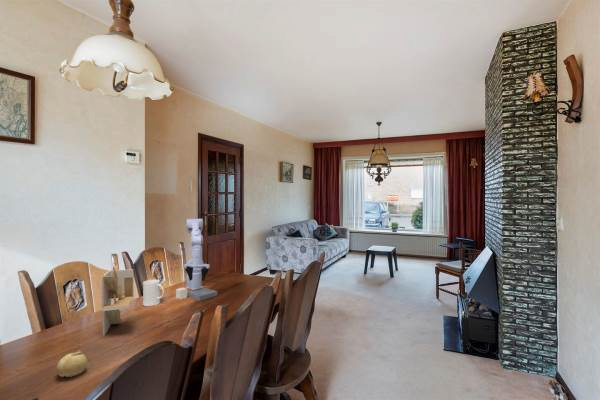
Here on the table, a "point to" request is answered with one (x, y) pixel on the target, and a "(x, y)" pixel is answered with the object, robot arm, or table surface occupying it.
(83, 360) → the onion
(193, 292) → the plate
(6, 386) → the table surface
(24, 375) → the table surface
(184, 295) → the block
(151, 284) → the mug
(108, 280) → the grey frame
